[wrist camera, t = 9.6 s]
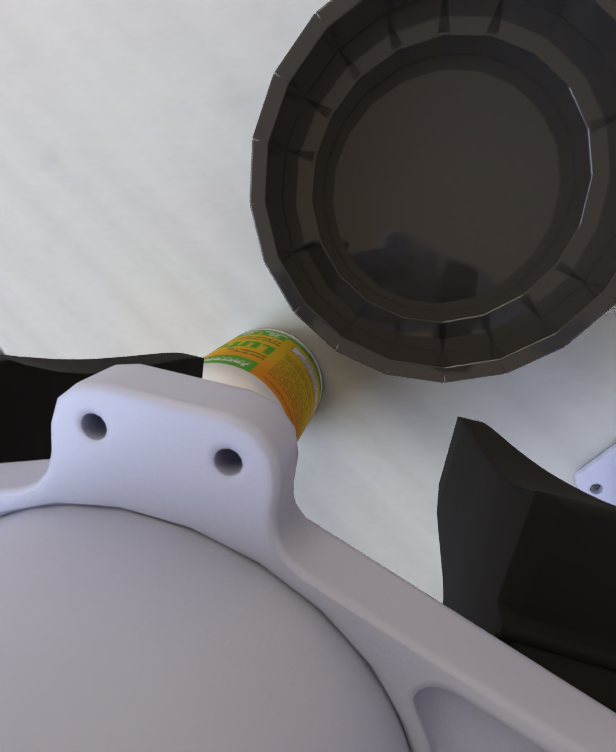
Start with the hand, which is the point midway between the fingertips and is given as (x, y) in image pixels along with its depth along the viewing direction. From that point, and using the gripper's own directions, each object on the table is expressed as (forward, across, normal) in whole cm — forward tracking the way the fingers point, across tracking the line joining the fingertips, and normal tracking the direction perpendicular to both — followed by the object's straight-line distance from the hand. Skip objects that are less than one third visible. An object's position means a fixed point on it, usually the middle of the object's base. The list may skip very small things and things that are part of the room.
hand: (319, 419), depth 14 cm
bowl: (+10, -2, -7) cm, 12 cm away
